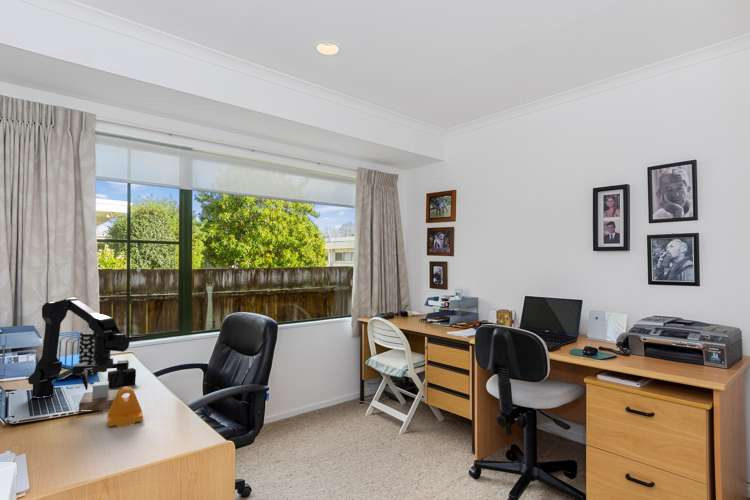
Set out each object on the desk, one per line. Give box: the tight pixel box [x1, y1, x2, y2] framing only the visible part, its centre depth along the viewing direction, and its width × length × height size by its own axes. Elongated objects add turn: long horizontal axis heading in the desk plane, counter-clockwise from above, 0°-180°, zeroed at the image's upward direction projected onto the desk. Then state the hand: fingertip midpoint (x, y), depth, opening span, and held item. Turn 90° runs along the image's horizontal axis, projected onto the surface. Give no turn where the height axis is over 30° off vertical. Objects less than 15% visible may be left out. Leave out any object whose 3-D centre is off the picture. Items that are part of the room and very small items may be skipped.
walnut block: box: [78, 389, 120, 412], centre depth 169 cm, size 13×13×4 cm
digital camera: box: [107, 367, 137, 390], centre depth 193 cm, size 10×5×7 cm, turn 137°
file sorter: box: [57, 330, 82, 370], centre depth 229 cm, size 25×17×15 cm
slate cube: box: [92, 380, 110, 399], centre depth 169 cm, size 5×5×5 cm
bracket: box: [106, 386, 144, 428], centre depth 154 cm, size 11×7×12 cm, turn 124°
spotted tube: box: [78, 330, 99, 376], centre depth 211 cm, size 8×8×20 cm
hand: (100, 388), depth 169 cm, fingers open, 9 cm apart
